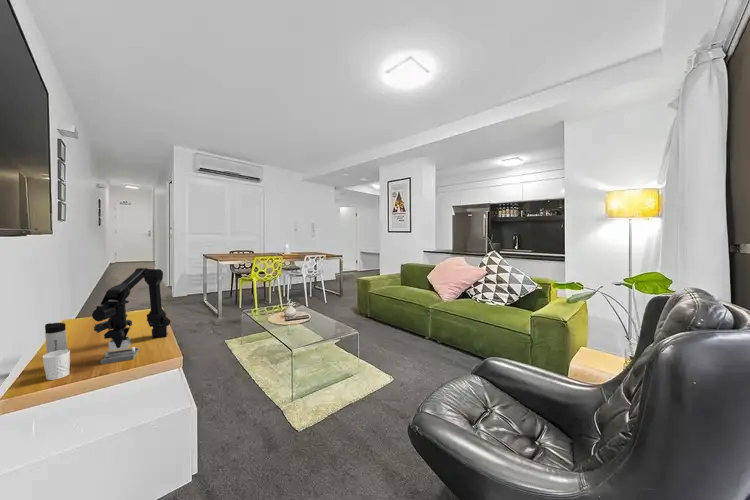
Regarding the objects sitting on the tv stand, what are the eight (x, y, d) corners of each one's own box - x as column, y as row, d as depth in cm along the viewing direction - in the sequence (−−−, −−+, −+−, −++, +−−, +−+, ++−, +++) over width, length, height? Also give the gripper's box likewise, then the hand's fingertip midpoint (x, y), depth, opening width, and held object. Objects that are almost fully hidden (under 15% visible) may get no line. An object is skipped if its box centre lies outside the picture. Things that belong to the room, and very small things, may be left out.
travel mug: (57, 363, 135) (53, 321, 134) (72, 363, 136) (69, 321, 134) (42, 370, 129) (39, 326, 127) (59, 370, 130) (55, 326, 128)
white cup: (75, 373, 127) (74, 351, 126) (50, 382, 119) (49, 358, 119) (65, 370, 129) (63, 348, 129) (39, 379, 122) (38, 355, 121)
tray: (138, 351, 149) (138, 343, 149) (133, 359, 141) (133, 350, 140) (107, 356, 144) (107, 347, 143) (100, 364, 135) (100, 355, 135)
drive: (130, 344, 146) (129, 336, 145) (128, 348, 142) (127, 339, 141) (112, 347, 142) (111, 338, 142) (109, 351, 138) (108, 341, 138)
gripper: (103, 311, 145) (105, 341, 146) (87, 322, 129) (90, 357, 130) (131, 308, 150) (133, 338, 152) (120, 319, 134) (122, 352, 135)
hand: (120, 345), depth 142 cm, fingers closed on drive, 4 cm apart
